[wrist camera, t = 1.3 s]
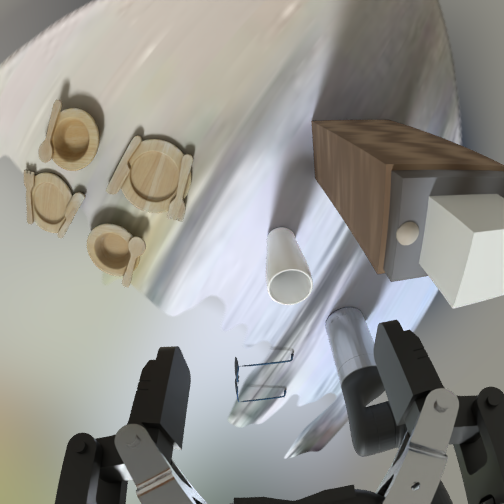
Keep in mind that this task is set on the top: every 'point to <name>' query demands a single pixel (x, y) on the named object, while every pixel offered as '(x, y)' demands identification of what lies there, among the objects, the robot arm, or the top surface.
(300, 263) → the drinking glass
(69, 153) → the tableware set
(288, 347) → the top surface
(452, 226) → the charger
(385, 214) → the wood-grain topped box
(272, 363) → the sunglasses
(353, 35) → the top surface
